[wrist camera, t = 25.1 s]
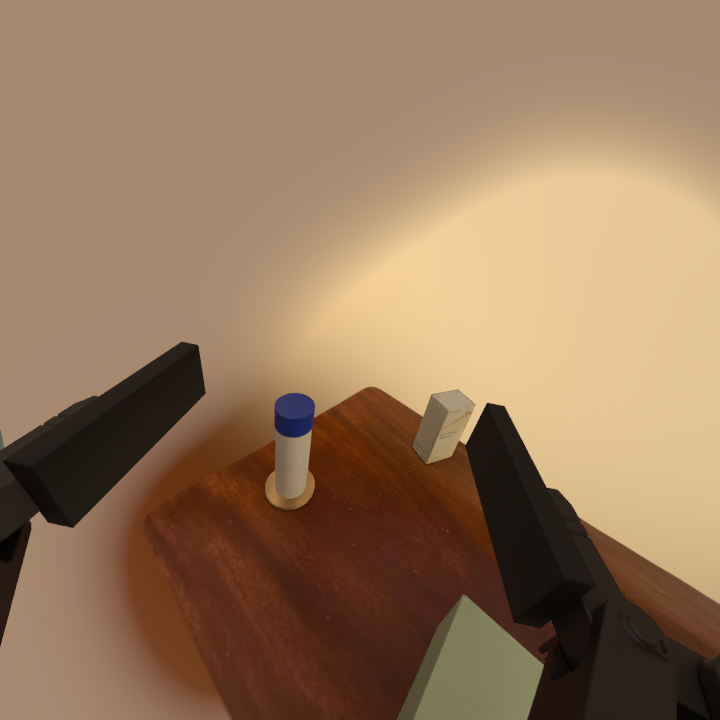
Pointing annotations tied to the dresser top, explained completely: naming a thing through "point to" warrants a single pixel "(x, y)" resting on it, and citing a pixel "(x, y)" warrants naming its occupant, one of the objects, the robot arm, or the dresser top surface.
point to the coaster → (288, 503)
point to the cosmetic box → (442, 425)
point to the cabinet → (472, 672)
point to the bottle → (292, 443)
